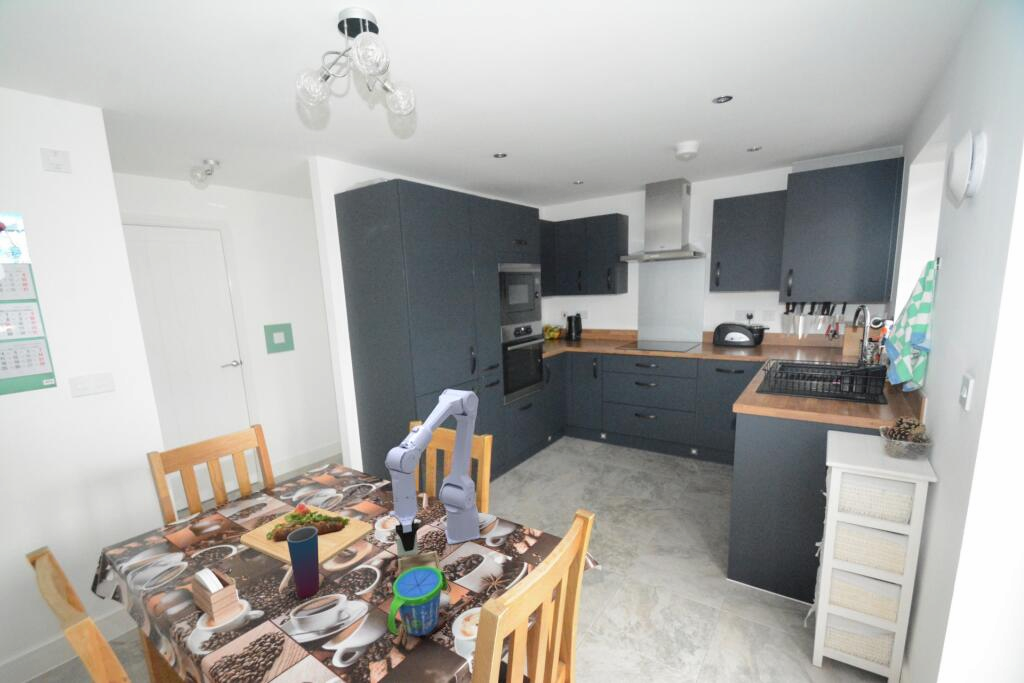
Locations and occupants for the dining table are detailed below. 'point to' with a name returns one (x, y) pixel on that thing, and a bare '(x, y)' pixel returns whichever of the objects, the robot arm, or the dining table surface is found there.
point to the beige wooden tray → (418, 561)
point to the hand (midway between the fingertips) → (408, 543)
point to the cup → (304, 560)
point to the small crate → (401, 550)
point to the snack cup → (417, 600)
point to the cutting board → (331, 526)
